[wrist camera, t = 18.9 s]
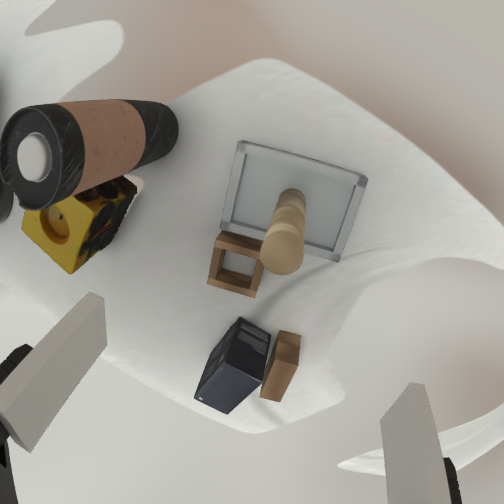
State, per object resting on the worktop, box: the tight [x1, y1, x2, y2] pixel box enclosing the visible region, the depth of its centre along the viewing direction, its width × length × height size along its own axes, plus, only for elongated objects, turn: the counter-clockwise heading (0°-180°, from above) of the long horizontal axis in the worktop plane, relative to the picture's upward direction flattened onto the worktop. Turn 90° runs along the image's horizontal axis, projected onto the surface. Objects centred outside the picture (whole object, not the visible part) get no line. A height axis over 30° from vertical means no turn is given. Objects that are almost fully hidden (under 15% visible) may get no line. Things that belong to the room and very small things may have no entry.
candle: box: [21, 175, 137, 274], centre depth 35 cm, size 10×10×10 cm
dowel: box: [260, 188, 306, 275], centre depth 28 cm, size 3×3×14 cm
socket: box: [207, 230, 264, 298], centre depth 38 cm, size 6×6×3 cm
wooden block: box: [260, 330, 301, 402], centre depth 42 cm, size 3×8×6 cm, turn 167°
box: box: [194, 317, 271, 414], centre depth 41 cm, size 9×6×10 cm, turn 149°
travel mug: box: [0, 99, 178, 211], centre depth 26 cm, size 8×8×20 cm
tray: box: [220, 141, 368, 262], centre depth 35 cm, size 14×10×2 cm
